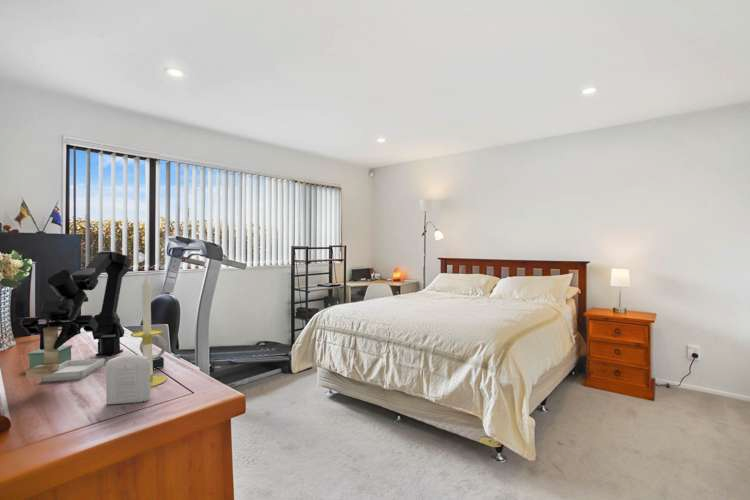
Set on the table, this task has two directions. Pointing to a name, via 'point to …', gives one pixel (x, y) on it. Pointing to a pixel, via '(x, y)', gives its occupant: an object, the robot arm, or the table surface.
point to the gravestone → (128, 379)
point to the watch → (157, 359)
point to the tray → (75, 369)
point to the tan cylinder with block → (47, 355)
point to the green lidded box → (38, 356)
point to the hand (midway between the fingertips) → (48, 348)
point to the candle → (148, 332)
